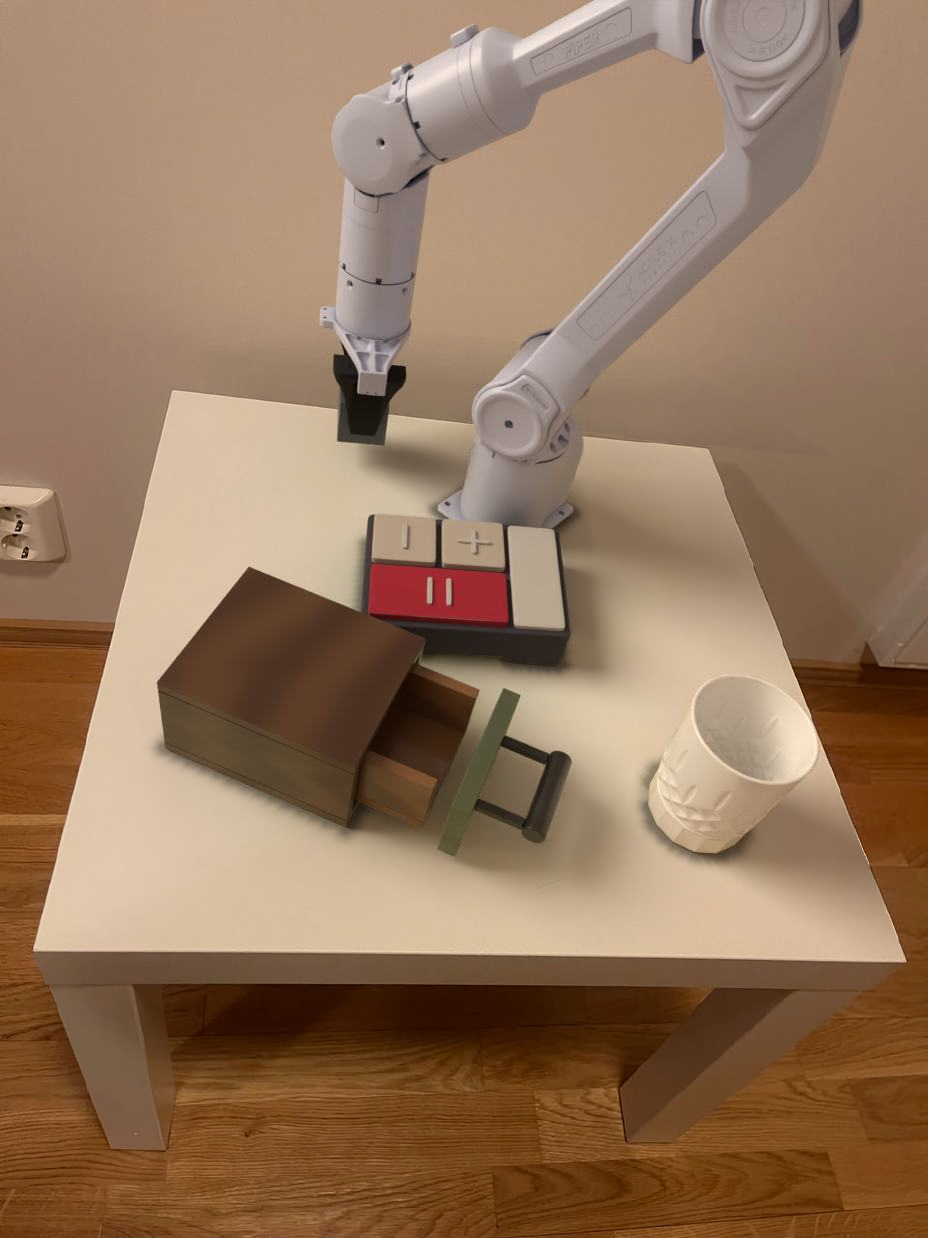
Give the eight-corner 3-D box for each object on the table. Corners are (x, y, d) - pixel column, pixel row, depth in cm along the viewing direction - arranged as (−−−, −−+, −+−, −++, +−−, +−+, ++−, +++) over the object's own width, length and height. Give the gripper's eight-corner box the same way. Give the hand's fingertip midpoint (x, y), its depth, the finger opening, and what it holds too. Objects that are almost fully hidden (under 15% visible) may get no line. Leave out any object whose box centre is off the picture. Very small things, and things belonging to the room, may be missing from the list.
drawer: (566, 766, 61) (588, 722, 57) (524, 888, 55) (545, 847, 51) (348, 675, 62) (355, 626, 59) (283, 783, 56) (286, 736, 52)
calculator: (368, 505, 69) (561, 521, 71) (366, 544, 73) (550, 558, 74) (360, 616, 62) (574, 630, 64) (358, 654, 66) (561, 666, 67)
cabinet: (411, 702, 63) (426, 638, 58) (345, 827, 56) (355, 767, 51) (248, 634, 64) (248, 565, 59) (164, 748, 57) (156, 682, 52)
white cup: (752, 877, 59) (824, 800, 51) (634, 844, 59) (689, 763, 51) (750, 775, 64) (815, 692, 57) (642, 746, 64) (693, 659, 57)
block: (337, 412, 79) (340, 373, 76) (383, 416, 80) (388, 378, 77) (336, 441, 76) (340, 402, 73) (384, 446, 77) (389, 407, 74)
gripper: (325, 210, 71) (316, 360, 81) (320, 312, 61) (311, 467, 71) (415, 222, 72) (395, 368, 82) (424, 323, 63) (400, 474, 73)
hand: (362, 415), depth 77 cm, fingers closed on block, 4 cm apart
